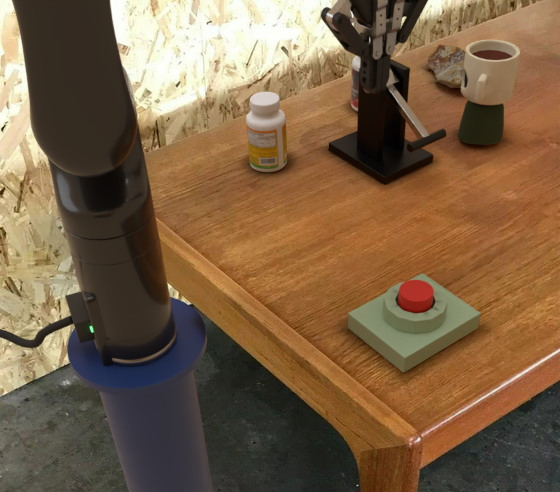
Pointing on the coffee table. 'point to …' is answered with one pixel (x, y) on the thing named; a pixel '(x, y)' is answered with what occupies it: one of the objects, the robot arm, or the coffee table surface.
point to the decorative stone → (447, 65)
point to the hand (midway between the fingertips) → (374, 88)
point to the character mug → (487, 89)
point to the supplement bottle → (266, 133)
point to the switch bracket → (381, 135)
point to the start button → (415, 296)
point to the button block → (412, 325)
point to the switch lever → (411, 118)
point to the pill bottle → (355, 82)
